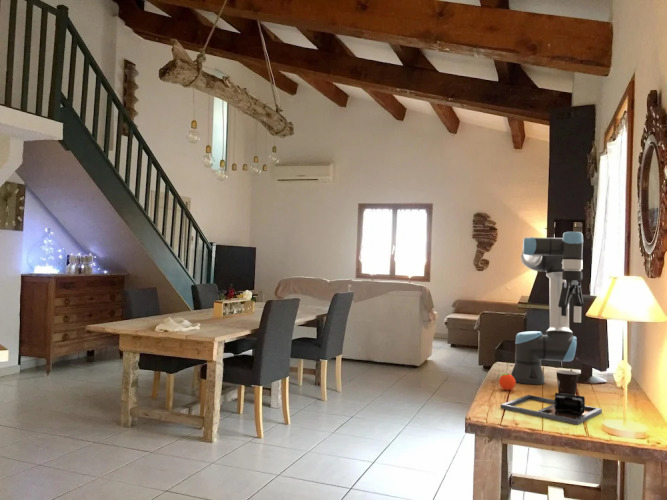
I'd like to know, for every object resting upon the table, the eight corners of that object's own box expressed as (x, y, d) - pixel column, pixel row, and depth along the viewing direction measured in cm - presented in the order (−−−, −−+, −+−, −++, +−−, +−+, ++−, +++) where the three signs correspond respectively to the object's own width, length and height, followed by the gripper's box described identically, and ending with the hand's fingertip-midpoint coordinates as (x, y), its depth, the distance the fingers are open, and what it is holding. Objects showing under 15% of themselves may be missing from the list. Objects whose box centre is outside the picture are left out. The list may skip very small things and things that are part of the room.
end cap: (584, 413, 209) (585, 395, 209) (582, 417, 203) (583, 398, 203) (555, 409, 214) (556, 391, 214) (553, 413, 208) (553, 394, 208)
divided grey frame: (528, 398, 232) (528, 394, 232) (601, 412, 212) (601, 408, 212) (500, 408, 214) (500, 404, 214) (577, 424, 195) (577, 420, 195)
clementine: (495, 390, 245) (496, 374, 245) (496, 387, 252) (497, 371, 252) (515, 392, 242) (515, 375, 243) (515, 389, 249) (516, 372, 249)
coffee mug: (557, 392, 244) (558, 369, 244) (579, 395, 240) (579, 372, 240) (553, 398, 234) (553, 373, 234) (575, 401, 230) (576, 376, 230)
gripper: (574, 270, 239) (573, 320, 239) (550, 269, 221) (549, 324, 220) (592, 270, 234) (591, 322, 233) (569, 270, 216) (568, 326, 215)
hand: (571, 323), depth 227 cm, fingers open, 13 cm apart
